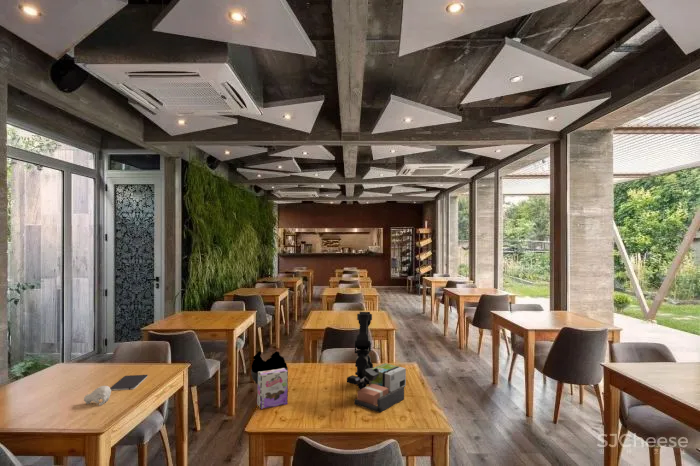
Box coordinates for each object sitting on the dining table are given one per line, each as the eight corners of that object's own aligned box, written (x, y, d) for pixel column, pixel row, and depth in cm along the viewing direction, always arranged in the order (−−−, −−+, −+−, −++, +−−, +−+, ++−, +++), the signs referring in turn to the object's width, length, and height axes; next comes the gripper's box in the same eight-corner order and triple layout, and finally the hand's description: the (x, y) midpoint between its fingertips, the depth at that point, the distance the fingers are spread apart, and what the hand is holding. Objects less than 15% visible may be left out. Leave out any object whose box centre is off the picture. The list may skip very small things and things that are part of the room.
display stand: (354, 404, 194) (354, 391, 194) (379, 391, 210) (379, 380, 210) (380, 412, 184) (380, 399, 184) (404, 399, 200) (404, 387, 200)
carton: (357, 400, 198) (357, 390, 198) (372, 393, 208) (372, 383, 208) (373, 406, 191) (373, 395, 192) (388, 398, 202) (388, 388, 202)
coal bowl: (295, 387, 216) (295, 352, 217) (263, 397, 202) (264, 360, 203) (274, 378, 231) (274, 346, 231) (243, 387, 216) (243, 352, 217)
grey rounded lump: (104, 388, 191) (79, 390, 191) (106, 405, 191) (80, 408, 190) (112, 383, 197) (87, 385, 197) (113, 400, 197) (89, 403, 197)
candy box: (260, 409, 187) (260, 374, 188) (257, 405, 192) (257, 371, 193) (288, 404, 193) (288, 370, 194) (284, 400, 199) (284, 367, 199)
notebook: (125, 378, 232) (108, 391, 211) (125, 375, 232) (108, 388, 211) (148, 377, 234) (134, 390, 213) (148, 374, 234) (134, 387, 213)
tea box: (390, 374, 208) (368, 368, 217) (390, 393, 207) (368, 387, 217) (406, 367, 219) (384, 362, 229) (406, 385, 219) (384, 380, 228)
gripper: (363, 370, 192) (363, 402, 192) (385, 361, 206) (385, 391, 206) (346, 365, 199) (346, 396, 199) (368, 357, 214) (368, 386, 213)
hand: (362, 393), depth 204 cm, fingers closed
